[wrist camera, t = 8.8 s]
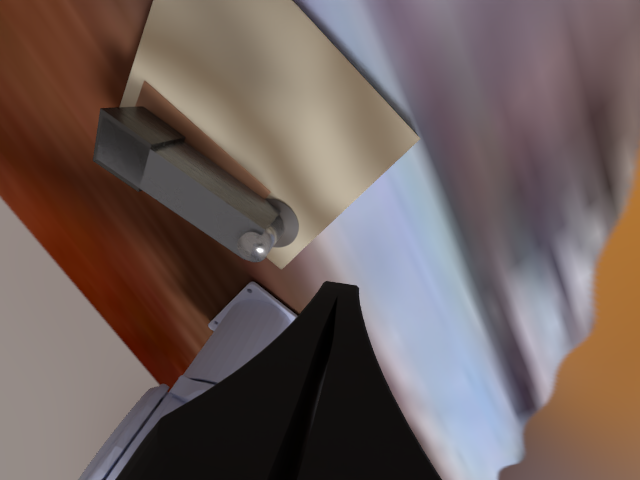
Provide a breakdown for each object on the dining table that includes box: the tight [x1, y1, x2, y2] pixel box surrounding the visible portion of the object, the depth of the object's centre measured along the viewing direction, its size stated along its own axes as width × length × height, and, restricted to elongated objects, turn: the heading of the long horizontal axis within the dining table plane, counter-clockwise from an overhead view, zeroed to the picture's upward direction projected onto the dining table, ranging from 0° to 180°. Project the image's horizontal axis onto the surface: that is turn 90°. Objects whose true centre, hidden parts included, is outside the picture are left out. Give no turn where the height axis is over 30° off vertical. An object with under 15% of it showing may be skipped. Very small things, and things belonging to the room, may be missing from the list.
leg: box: [93, 106, 284, 262], centre depth 17 cm, size 12×4×3 cm, turn 55°
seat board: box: [120, 0, 420, 269], centre depth 17 cm, size 14×16×1 cm
